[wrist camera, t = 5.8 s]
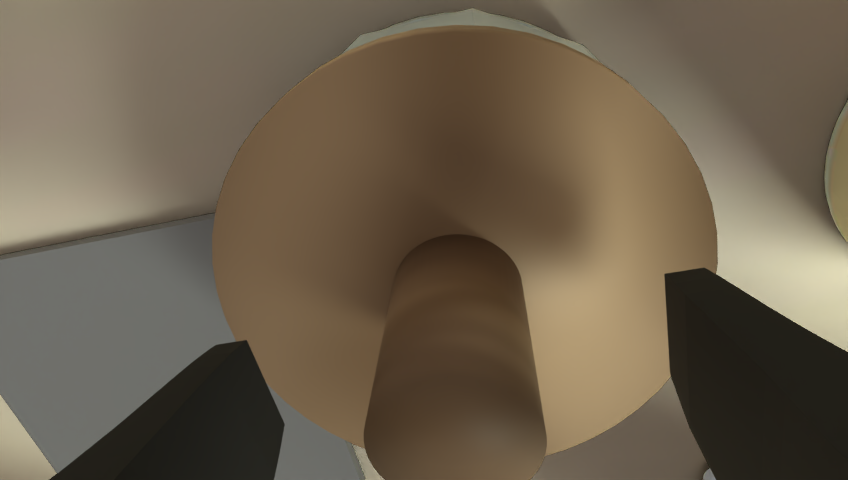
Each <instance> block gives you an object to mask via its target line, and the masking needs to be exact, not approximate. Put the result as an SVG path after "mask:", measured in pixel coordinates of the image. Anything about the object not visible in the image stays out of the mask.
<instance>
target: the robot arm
mask: <svg viewBox="0 0 848 480" xmlns="http://www.w3.org/2000/svg"><path fill="white" fill-rule="evenodd" d="M664 278H665V295H666V313H667V330H668V348H669V365H670V375H671V377H672V380H673V383H674V386H675V389H676V392H677V394H678V397H679V400H680V403H681V406H682V408H683V411H684V414H685V416H686V419H687V422H688V424H689V427H690V429H691V431H692V433H693V435H694V437H695V439H696V441H697V443H698V445H699V447H700V449H701V451H702V453H703V455H704V457H705V459H706V461H707V463H708V465H709V467H710V468H709V469H708V470H707V471H706V472H705V473H704V476H703V480H848V352H846V351H845V350H843V349H841V348H839V347H837V346H835V345H834V344H832V343H830V342H828V341H826V340H824V339H823V338H821V337H819V336H817V335H816V334H814V333H812V332H810V331H808V330H807V329H805V328H803V327H802V326H800V325H798V324H796V323H795V322H793V321H791V320H790V319H788V318H786V317H785V316H783V315H781V314H780V313H778V312H776V311H775V310H773V309H771V308H770V307H768V306H766V305H765V304H763V303H761V302H760V301H758V300H757V299H755V298H753V297H752V296H750V295H749V294H747V293H745V292H744V291H742V290H741V289H739V288H737V287H736V286H734V285H733V284H731V283H729V282H728V281H726V280H725V279H723V278H721V277H720V276H718V275H716V274H715V273H713V272H711V271H710V270H708V269H706V268H705V267H704V268H698V269H691V270H685V271H679V272H672V273H666V274H664ZM284 426H285V423H284V421H283V419H282V417H281V415H280V412H279V410H278V408H277V406H276V404H275V401H274V399H273V397H272V395H271V392H270V390H269V388H268V386H267V384H266V381H265V379H264V377H263V375H262V372H261V370H260V368H259V366H258V364H257V361H256V359H255V357H254V355H253V353H252V350H251V348H250V346H249V344H248V341H247V340H243V341H237V342H230V343H224V344H218V345H215V346H213V347H212V348H210V349H209V350H208V351H206V352H205V353H203V354H202V355H201V356H199V357H198V358H197V359H196V360H194V361H193V362H192V363H191V364H189V365H188V366H187V367H186V368H185V369H183V370H182V371H181V372H180V373H179V374H177V375H176V376H175V377H174V378H173V379H171V380H170V381H169V382H168V383H167V384H166V385H164V386H163V387H162V388H161V389H160V390H158V391H157V392H156V393H155V394H154V395H153V396H151V397H150V398H149V399H148V400H147V401H146V402H144V403H143V404H142V405H141V406H140V407H138V408H137V409H136V410H135V411H134V412H133V413H131V414H130V415H129V416H128V417H127V418H126V419H124V420H123V421H122V422H121V423H120V424H118V425H117V426H116V427H115V428H114V429H112V430H111V431H110V432H109V433H107V434H106V435H105V436H104V437H102V438H101V439H100V440H99V441H97V442H96V443H95V444H94V445H92V446H91V447H90V448H89V449H87V450H86V451H85V452H84V453H82V454H81V455H80V456H79V457H77V458H76V459H75V460H74V461H72V462H71V463H70V464H69V465H67V466H66V467H65V468H64V469H62V470H61V471H60V472H59V473H57V474H56V475H55V476H53V477H52V478H51V479H49V480H274V478H275V473H276V468H277V464H278V459H279V454H280V449H281V443H282V437H283V432H284Z"/></svg>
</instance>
